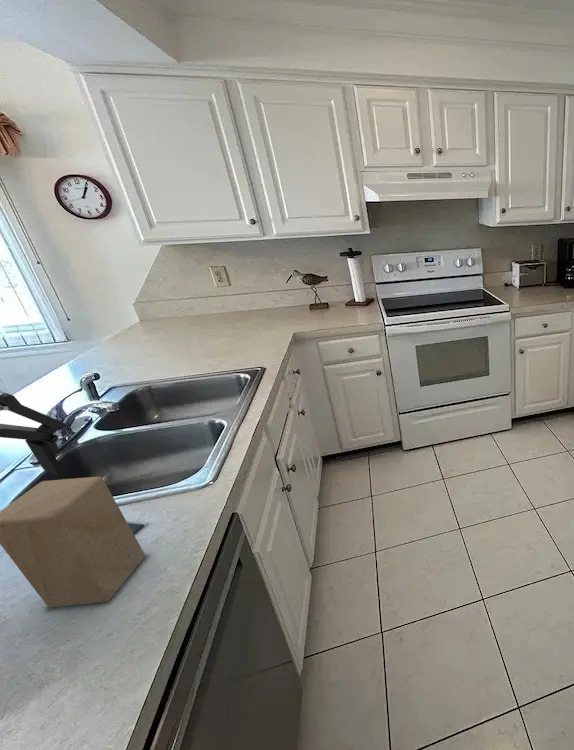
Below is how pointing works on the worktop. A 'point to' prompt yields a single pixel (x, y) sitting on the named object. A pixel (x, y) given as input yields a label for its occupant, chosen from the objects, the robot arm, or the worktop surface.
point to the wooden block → (70, 541)
